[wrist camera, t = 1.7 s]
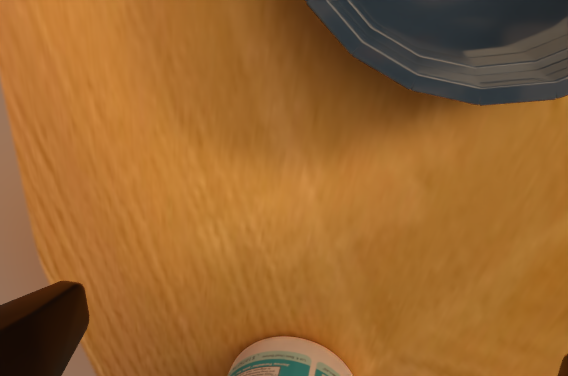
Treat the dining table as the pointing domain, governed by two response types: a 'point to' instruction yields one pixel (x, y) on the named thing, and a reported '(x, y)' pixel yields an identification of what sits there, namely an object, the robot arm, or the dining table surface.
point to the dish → (458, 45)
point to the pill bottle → (288, 359)
